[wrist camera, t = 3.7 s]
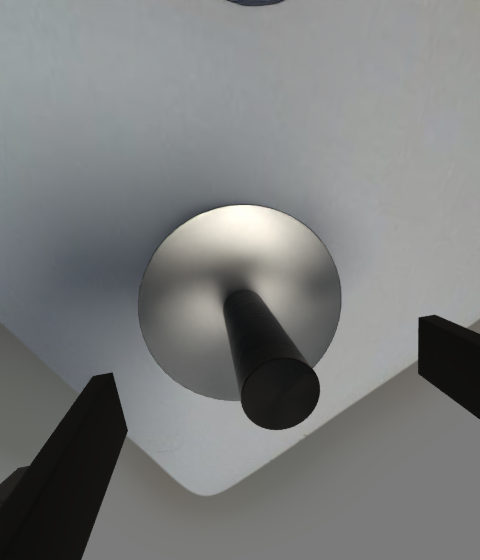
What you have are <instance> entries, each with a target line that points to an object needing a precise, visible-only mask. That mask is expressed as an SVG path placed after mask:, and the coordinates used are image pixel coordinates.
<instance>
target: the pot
mask: <svg viewBox="0 0 480 560" xmlns="http://www.w3.org/2000/svg"><path fill="white" fill-rule="evenodd" d="M229 1H232V2H236V3H239V4H245V5H267V4H273V3H277V2H280V1H283V0H229Z"/></svg>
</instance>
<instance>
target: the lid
mask: <svg viewBox="0 0 480 560" xmlns="http://www.w3.org/2000/svg"><path fill="white" fill-rule="evenodd" d="M340 311H341V286H340V280H339V276H338V272H337V268H336V266H335V264H334V261H333V259H332V257H331V255H330V253H329V251H328V250H327V248H326V246H325V245H324V244H323V242H322V241H321V240H320V239H319V237H318V236H317V235H316V234H315V233H314V232H313V231H312V230H311V229H310V228H308V227H307V226H306V225H305V224H303V223H302V222H300V221H299V220H298V219H296V218H294V217H292V216H290V215H288V214H286V213H284V212H281V211H279V210H276V209H273V208H269V207H264V206H260V205H248V204H240V205H228V206H223V207H218V208H214V209H211V210H209V211H206V212H203V213H201V214H199V215H197V216H195V217H193V218H191V219H189V220H187V221H186V222H184V223H183V224H182V225H180V226H179V227H177V228H176V229H175V230H174V231H173V232H172V233H171V234H170V235H168V236H167V237H166V238H165V240H164V241H163V242H162V243H161V244H160V246H159V247H158V248H157V249H156V251H155V253H154V254H153V256H152V258H151V259H150V261H149V263H148V265H147V267H146V270H145V272H144V275H143V278H142V282H141V285H140V291H139V298H138V316H139V322H140V328H141V331H142V334H143V338H144V341H145V343H146V345H147V347H148V349H149V351H150V353H151V355H152V356H153V358H154V359H155V361H156V362H157V363H158V365H159V366H160V367H161V368H162V369H163V370H164V372H165V373H167V374H168V375H169V376H170V377H171V378H172V379H173V380H175V381H176V382H177V383H179V384H180V385H182V386H183V387H185V388H187V389H189V390H191V391H193V392H195V393H197V394H200V395H203V396H206V397H210V398H214V399H219V400H228V401H241V404H242V408H243V410H244V412H245V414H246V415H247V417H248V418H249V419H250V420H251V421H252V422H253V423H255V424H256V425H258V426H260V427H262V428H265V429H270V430H282V429H287V428H291V427H293V426H296V425H298V424H299V423H301V422H302V421H304V420H305V419H306V418H307V417H308V416H309V415H310V414H311V413H312V412H313V410H314V409H315V407H316V405H317V402H318V399H319V395H320V384H319V380H318V377H317V375H316V373H315V372H314V370H313V369H312V368H313V367H314V366H315V365H316V364H317V363H318V362H319V360H320V359H321V358H322V356H323V355H324V354H325V352H326V351H327V349H328V347H329V345H330V343H331V342H332V339H333V337H334V334H335V332H336V329H337V326H338V322H339V318H340Z"/></svg>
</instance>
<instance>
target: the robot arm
mask: <svg viewBox="0 0 480 560" xmlns="http://www.w3.org/2000/svg"><path fill="white" fill-rule="evenodd" d="M418 374H419V375H421V376H422V377H423V378H425V379H426V380H427V381H429V382H430V383H431V384H433V385H434V386H435V387H437V388H438V389H440V390H441V391H442V392H444V393H445V394H446V395H448V396H449V397H450V398H452V399H453V400H454V401H456V402H457V403H459V404H460V405H461V406H463V407H464V408H465V409H467V410H468V411H469V412H471V413H472V414H473V415H475V416H476V417H477V418H479V419H480V334H479V333H476V332H474V331H471V330H469V329H467V328H465V327H462V326H460V325H458V324H455V323H453V322H451V321H448V320H446V319H444V318H441V317H439V316H437V315H430V316H425V317H419V327H418ZM127 432H128V429H127V426H126V422H125V418H124V414H123V410H122V407H121V403H120V399H119V395H118V391H117V388H116V384H115V380H114V376H113V372H112V373H107V374H101V375H96V376H93V377H92V378H91V379H90V381H89V382H88V384H87V385H86V387H85V388H84V389H83V391H82V392H81V394H80V395H79V396H78V398H77V399H76V401H75V402H74V404H73V405H72V406H71V408H70V409H69V411H68V412H67V414H66V415H65V417H64V418H63V419H62V421H61V422H60V423H59V425H58V426H57V428H56V429H55V431H54V432H53V433H52V435H51V436H50V438H49V439H48V441H47V442H46V443H45V445H44V446H43V448H42V449H41V451H40V452H39V453H38V455H37V456H36V458H35V459H34V460H33V462H32V463H31V465H30V466H26V467H21V468H18V469H17V470H16V471H15V472H13V473H12V474H11V475H10V476H9V477H8V478H7V479H6V480H4V481H3V482H2V483H1V484H0V560H81V559H82V556H83V553H84V551H85V548H86V545H87V542H88V540H89V537H90V534H91V531H92V528H93V526H94V523H95V520H96V517H97V514H98V512H99V509H100V506H101V504H102V501H103V498H104V495H105V493H106V490H107V487H108V484H109V481H110V479H111V476H112V473H113V470H114V468H115V465H116V462H117V459H118V456H119V454H120V451H121V448H122V446H123V443H124V439H125V437H126V435H127Z"/></svg>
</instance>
